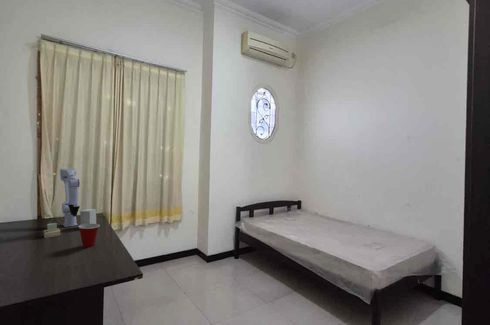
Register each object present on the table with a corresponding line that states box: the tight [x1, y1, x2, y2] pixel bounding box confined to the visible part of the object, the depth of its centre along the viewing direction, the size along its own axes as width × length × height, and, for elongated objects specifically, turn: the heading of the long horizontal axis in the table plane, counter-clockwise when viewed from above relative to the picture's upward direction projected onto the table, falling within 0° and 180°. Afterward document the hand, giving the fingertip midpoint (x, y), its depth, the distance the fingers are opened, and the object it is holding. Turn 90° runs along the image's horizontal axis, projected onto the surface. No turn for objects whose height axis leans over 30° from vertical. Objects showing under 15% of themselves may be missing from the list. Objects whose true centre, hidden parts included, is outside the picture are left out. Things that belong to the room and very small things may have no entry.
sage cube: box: [46, 222, 58, 232], centre depth 165 cm, size 4×4×4 cm
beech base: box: [43, 227, 61, 239], centre depth 165 cm, size 8×8×3 cm
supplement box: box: [79, 208, 97, 225], centre depth 185 cm, size 7×7×13 cm
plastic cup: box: [77, 223, 101, 248], centre depth 147 cm, size 11×11×12 cm
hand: (73, 215), depth 179 cm, fingers open, 7 cm apart
